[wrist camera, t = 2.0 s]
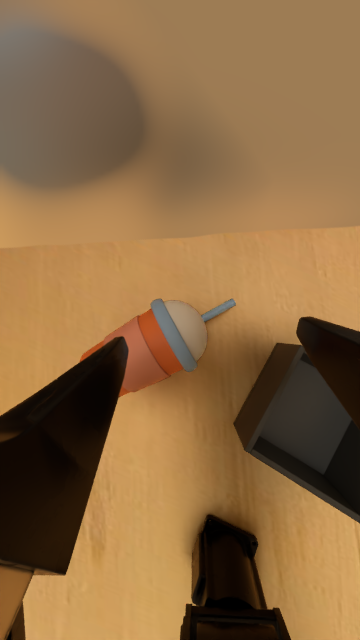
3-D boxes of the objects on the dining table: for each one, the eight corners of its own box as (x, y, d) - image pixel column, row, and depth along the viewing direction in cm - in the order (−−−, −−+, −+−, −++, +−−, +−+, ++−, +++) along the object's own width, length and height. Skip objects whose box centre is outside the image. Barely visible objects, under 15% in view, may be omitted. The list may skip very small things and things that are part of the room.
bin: (367, 391, 22) (424, 409, 17) (322, 478, 22) (365, 526, 16) (276, 342, 24) (300, 344, 18) (233, 423, 23) (244, 450, 18)
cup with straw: (121, 372, 26) (225, 315, 27) (119, 432, 19) (265, 350, 19) (79, 328, 22) (205, 260, 22) (53, 383, 14) (249, 276, 14)
